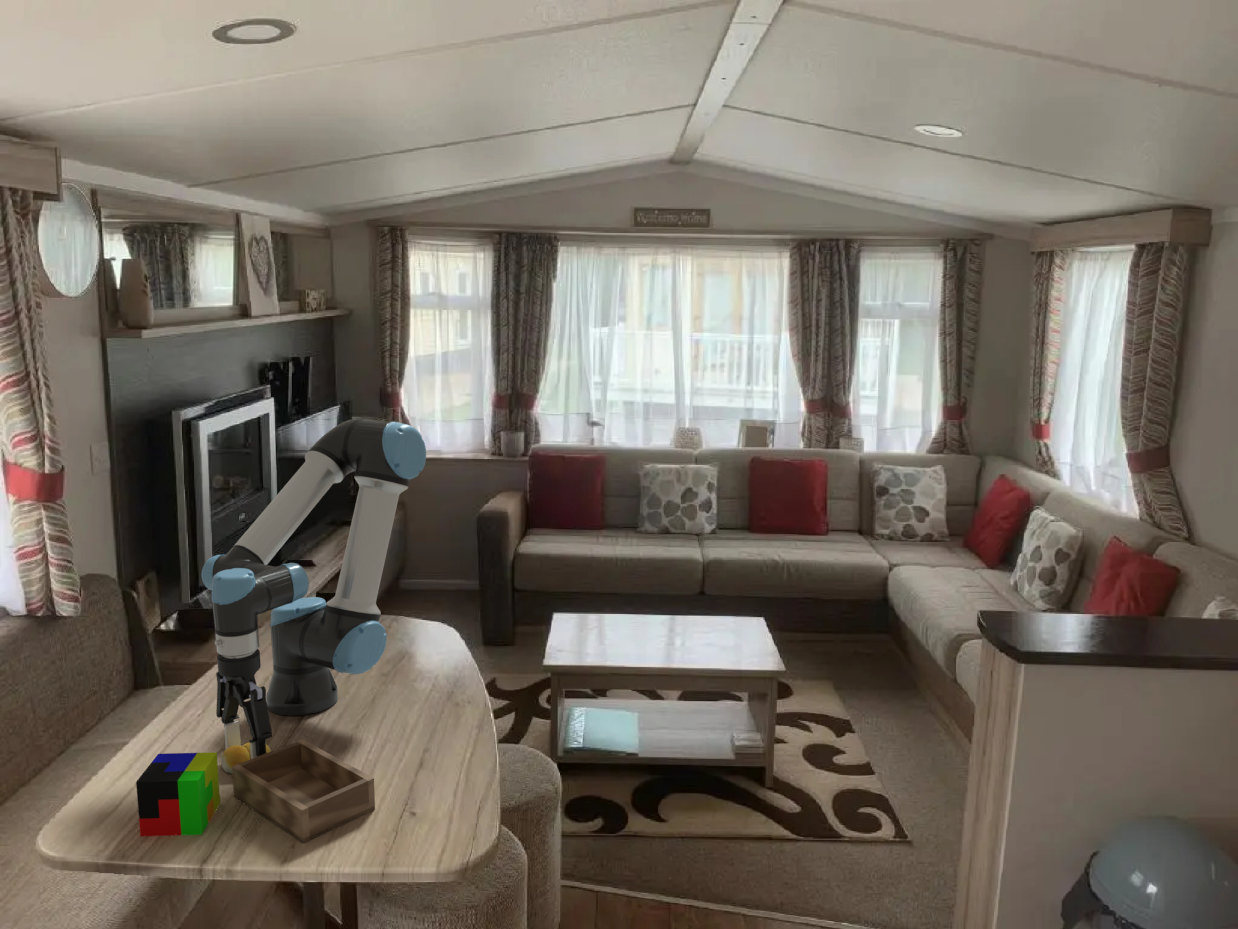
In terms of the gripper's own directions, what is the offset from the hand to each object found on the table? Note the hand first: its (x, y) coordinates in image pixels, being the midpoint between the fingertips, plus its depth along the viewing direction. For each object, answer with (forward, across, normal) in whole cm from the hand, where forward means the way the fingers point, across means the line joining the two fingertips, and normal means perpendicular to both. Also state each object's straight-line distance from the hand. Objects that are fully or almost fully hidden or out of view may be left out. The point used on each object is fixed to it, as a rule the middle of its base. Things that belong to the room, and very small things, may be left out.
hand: (246, 761), depth 191 cm
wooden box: (+1, +20, 0) cm, 20 cm away
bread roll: (+1, 0, 0) cm, 1 cm away
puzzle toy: (+1, +9, -17) cm, 20 cm away
